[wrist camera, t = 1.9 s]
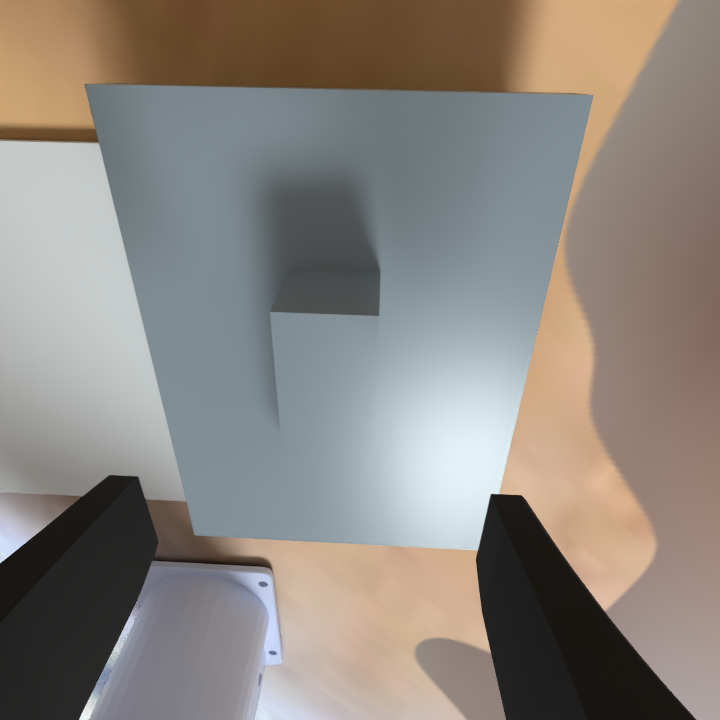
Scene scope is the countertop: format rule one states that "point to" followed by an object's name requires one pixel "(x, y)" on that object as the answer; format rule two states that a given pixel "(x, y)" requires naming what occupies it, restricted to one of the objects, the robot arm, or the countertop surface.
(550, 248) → the lid
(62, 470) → the mat
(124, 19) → the countertop surface
